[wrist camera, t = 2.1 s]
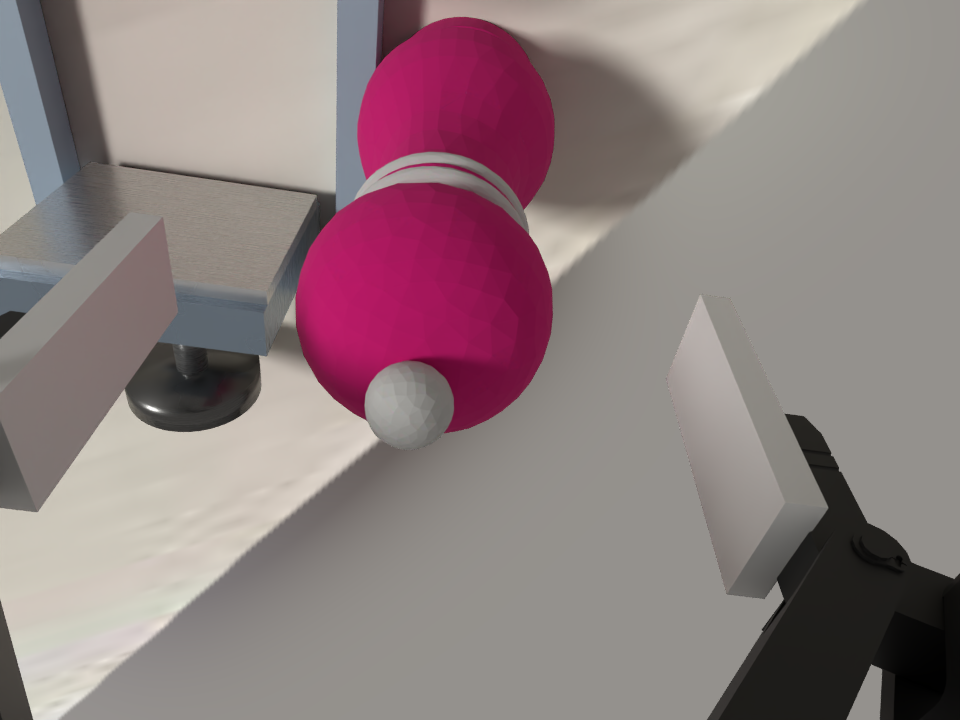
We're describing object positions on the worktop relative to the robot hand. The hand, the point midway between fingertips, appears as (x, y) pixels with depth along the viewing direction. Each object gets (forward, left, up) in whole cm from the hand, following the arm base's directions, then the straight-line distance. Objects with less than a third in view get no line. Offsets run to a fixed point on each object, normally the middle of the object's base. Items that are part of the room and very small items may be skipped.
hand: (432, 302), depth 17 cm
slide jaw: (+9, -11, -15) cm, 21 cm away
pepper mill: (0, 0, -15) cm, 15 cm away
